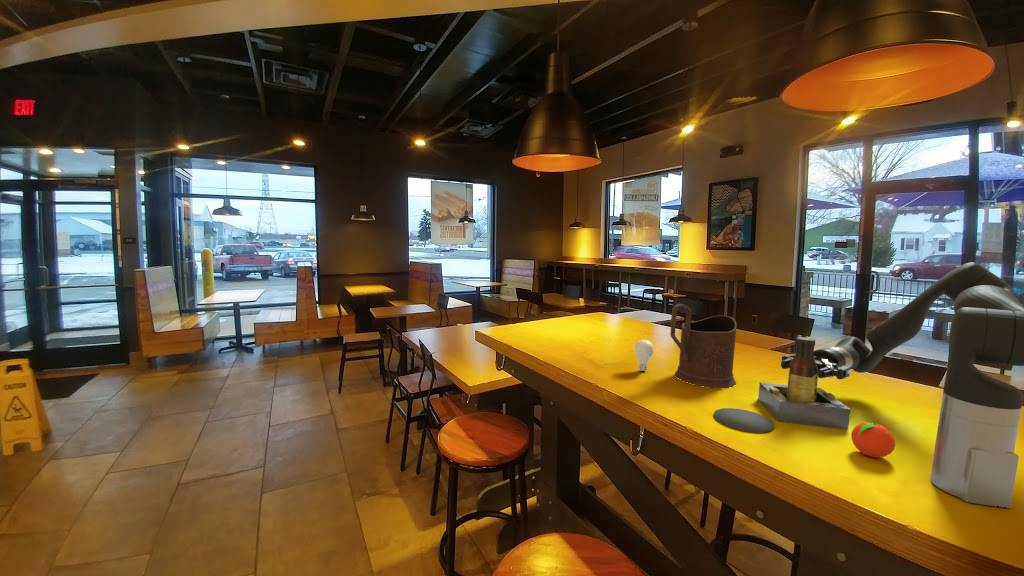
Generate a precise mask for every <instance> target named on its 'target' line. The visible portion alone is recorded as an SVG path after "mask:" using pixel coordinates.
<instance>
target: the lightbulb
mask: <svg viewBox="0 0 1024 576" xmlns="http://www.w3.org/2000/svg"><path fill="white" fill-rule="evenodd" d="M633 347H634V348H633V351H634V353H635V355H636V357H637V362H638V371H640V372H642V371H644V372H646V371H647V370H648V363H649V361H650V359H651V357H652V356H653V354H654V350H655V348H654V345H653V343H652V342H651V341H650V340H647V339H640V340H638V341H636V343H635V344H634V346H633Z"/></svg>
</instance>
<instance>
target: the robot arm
mask: <svg viewBox="0 0 1024 576" xmlns="http://www.w3.org/2000/svg"><path fill="white" fill-rule="evenodd" d="M941 296H947V298H949V299H951V300H952V301H953V302H954V303H953V311H954V313H953V316H952V318H951V323H950V328H949V337H948V338H949V341H948V355H947V356H948V357H947V363H946V364H947V367H946V373H945V377H944V378H945V379H944V384H943V391H942V396H941V404H940V410H939V416H938V422H937V424H938V425H937V430H936V437H935V444H934V446H935V447H934V452H933V456H932V457H933V459H932V466H931V473H930V482H931V483H932V484H933V485H934V486H936V487H937V488H938V489H941V491H943V492H946V493H948V494H950V495H952V496H954V497H956V498H959V499H961V500H963V501H964V502H966V503H970V504H975V505H976V504H977V505H984V506H991V507H997V506H999V508H1004V507H1007V508H1006V509H1011V508H1012V507H1011V505H1012V499H1013V494H1014V488H1015V483H1016V478H1017V477H1016V476H1017V471H1018V470H1017V469H1018V464H1019V458H1020V456H1019V455H1018V454H1017V453H1015V448H1016V444H1017V443H1016V442H1017V437H1018V431H1019V427H1020V426H1019V425H1020V421H1021V420H1020V419H1021V414H1022V408H1023V403H1024V394H1023V391H1022V390H1021V389H1019V388H1017V387H1016V386H1014V385H1012V384H1010V383H1007V382H1005V381H1002V380H1000V379H997V378H994V377H992V376H991V375H988V374H986V373H984V372H983V371H982V370H980V369H978V368H977V367H976V366H975V364H974V362H975V361H978V362H985V363H992V364H999V365H1007V366H1013V367H1014V366H1016V367H1024V306H1023V305H1022V303H1021V302H1020V300H1019V299H1018V298H1017V297H1016V296H1015V294H1014V292H1013V288H1012V286H1011V285H1010V284H1009V283H1007V282H1006V281H1005V280H1004V279H1002V278H1001V277H999V276H998V275H996V274H994V273H993V272H991V271H990V270H989V269H987V268H986V267H984V266H982V265H981V264H979V263H976V262H973V261H971V262H965V263H963V264H961V265H958V266H957V267H956V268H954V269H952V270H951V271H949V272H948V273H946V274H944V275H942V277H940V278H939V279H938V280H936V281H935V282H934V283H933V284H931V285H930V286H928V287H927V288H926V289H925V290H923V292H921V293H920V294H918V295H917V296H916V297H915V298H913V299H912V300H911V301H910V302H909V303H908V304H906V305H905V306H903V308H901V309H900V310H898V311H897V312H895V314H893V315H892V316H890V317H888V318H887V319H885V320H884V321H882V322H881V323H879V324H877V325H876V326H874V327H873V328H871V329H870V330H868V331H867V332H866V334H865V336H866V339H867V342H869V344H870V347H871V349H870V348H869V347H868V346H867V345H866V344H865V343H864V342H863V341H862V340H861V339H860V338H858V337H856V336H847V337H845V338H843V339H841V340H839V341H838V342H837V343H836V344H835V345H834V346H827V347H824V348H819V349H816V350H815V349H814V358H815V362H816V365H817V368H818V378H819V379H825V378H830V379H831V378H832V379H833V378H834V377H836V379H837V380H844V379H847V378H849V377H850V376H851V375H850V374H851V370H852V371H853V372H856V373H860V374H861V373H862V374H863V373H867V372H870V371H872V370H873V369H875V367H876V366H877V365H878V364H879V363H880V362H881V361H882V359H883V358H885V357H886V355H888V354H889V353H890V352H891V351H893V350H894V349H896V348H898V347H899V346H901V345H903V344H905V343H907V342H908V341H910V340H912V339H913V338H914V337H916V336H917V334H919V333H920V331H921V329H922V327H923V325H924V322H925V321H926V320H925V319H926V317H927V316H928V313H929V311H930V308H931V306H932V305H933V304H934V303H935V302H936V301H937V300H938V299H939V298H940V297H941ZM795 355H796V353H791V354H784V355H781V361H780V367H781V369H783V370H787V369H790V362H791V360H792V359H793V358H794V357H795Z"/></svg>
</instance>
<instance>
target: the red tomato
mask: <svg viewBox="0 0 1024 576" xmlns="http://www.w3.org/2000/svg"><path fill="white" fill-rule="evenodd" d="M850 435H851V438H850V439H851V441H852V444H853V445H854V446H855V448H856V449H857V451H859V452H861V453H862V454H863V455H866V456H869V457H872V458H884V457H887V456H888V455H891V454H892V453H893V451H894V449H895V447H896V441H895V438H894V434H892V432H891V431H890V430H888V429H887V428H886V427H885V426H883V425H882V424H878V423H876V422H872V421H870V422H869V421H866V422H863V423H862V422H861V423H859V424H857V425H855V426H854V427H853V429H852V431H851V434H850Z"/></svg>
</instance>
